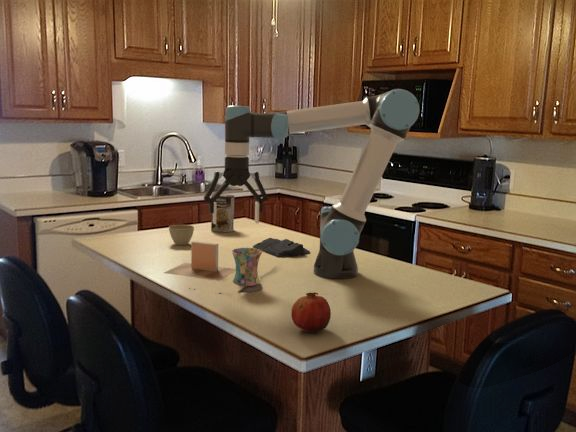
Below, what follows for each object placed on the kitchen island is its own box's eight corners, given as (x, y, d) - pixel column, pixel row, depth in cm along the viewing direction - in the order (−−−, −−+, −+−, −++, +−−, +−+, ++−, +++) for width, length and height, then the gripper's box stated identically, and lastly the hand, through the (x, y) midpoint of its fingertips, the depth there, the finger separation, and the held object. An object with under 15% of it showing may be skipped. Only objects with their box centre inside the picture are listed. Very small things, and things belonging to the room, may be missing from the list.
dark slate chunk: (280, 243, 247) (281, 232, 246) (313, 255, 229) (313, 243, 228) (249, 248, 238) (249, 236, 237) (280, 260, 220) (281, 247, 220)
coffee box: (210, 231, 265) (210, 195, 263) (214, 228, 272) (215, 193, 269) (230, 232, 264) (230, 196, 261) (234, 229, 270) (234, 194, 267)
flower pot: (199, 243, 241) (199, 226, 239) (182, 248, 232) (182, 230, 231) (180, 240, 246) (180, 223, 245) (163, 244, 238) (163, 227, 236)
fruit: (312, 342, 143) (314, 302, 141) (282, 331, 149) (283, 292, 147) (339, 330, 150) (341, 292, 149) (309, 320, 157) (310, 284, 155)
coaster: (267, 284, 188) (267, 282, 188) (253, 294, 178) (253, 292, 177) (235, 280, 191) (235, 278, 191) (220, 289, 181) (220, 287, 181)
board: (237, 273, 199) (237, 269, 199) (219, 284, 186) (219, 280, 186) (184, 266, 205) (184, 262, 205) (163, 277, 192) (163, 272, 192)
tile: (218, 270, 197) (218, 243, 196) (215, 271, 195) (215, 244, 194) (193, 266, 200) (194, 240, 198) (191, 268, 198) (191, 242, 197)
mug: (232, 279, 190) (232, 247, 188) (261, 280, 190) (262, 247, 188) (229, 291, 178) (230, 256, 176) (260, 291, 178) (261, 257, 176)
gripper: (272, 155, 191) (271, 220, 195) (195, 154, 185) (195, 221, 189) (278, 157, 184) (276, 224, 188) (198, 156, 178) (197, 226, 181)
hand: (235, 223), depth 188 cm, fingers open, 13 cm apart
